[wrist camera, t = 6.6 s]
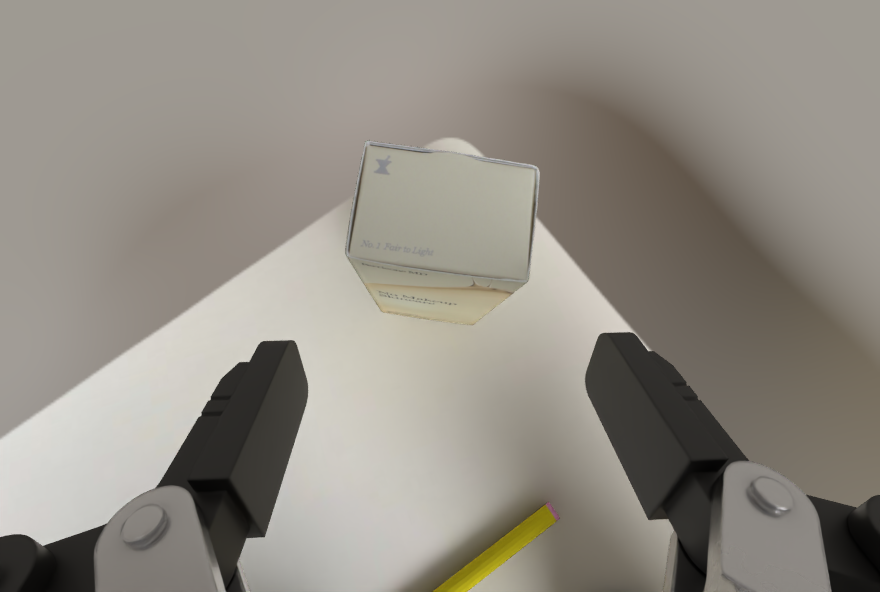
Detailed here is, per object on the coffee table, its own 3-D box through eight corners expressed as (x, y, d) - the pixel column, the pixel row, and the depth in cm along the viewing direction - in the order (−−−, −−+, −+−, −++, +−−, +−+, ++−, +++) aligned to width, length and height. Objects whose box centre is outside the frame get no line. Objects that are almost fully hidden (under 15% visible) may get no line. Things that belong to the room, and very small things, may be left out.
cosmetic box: (380, 313, 23) (333, 261, 11) (391, 247, 24) (358, 135, 12) (477, 326, 23) (531, 289, 11) (484, 261, 24) (542, 162, 12)
